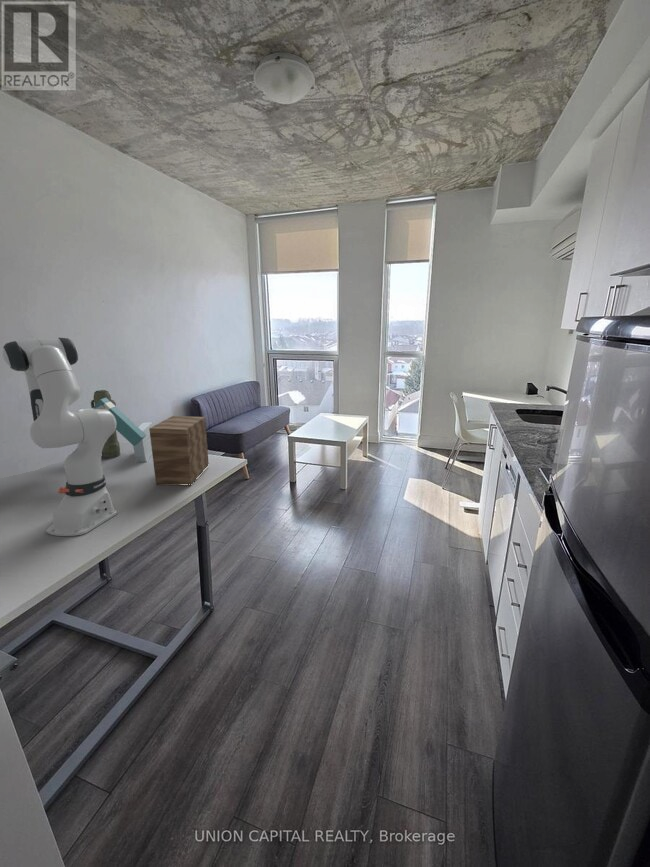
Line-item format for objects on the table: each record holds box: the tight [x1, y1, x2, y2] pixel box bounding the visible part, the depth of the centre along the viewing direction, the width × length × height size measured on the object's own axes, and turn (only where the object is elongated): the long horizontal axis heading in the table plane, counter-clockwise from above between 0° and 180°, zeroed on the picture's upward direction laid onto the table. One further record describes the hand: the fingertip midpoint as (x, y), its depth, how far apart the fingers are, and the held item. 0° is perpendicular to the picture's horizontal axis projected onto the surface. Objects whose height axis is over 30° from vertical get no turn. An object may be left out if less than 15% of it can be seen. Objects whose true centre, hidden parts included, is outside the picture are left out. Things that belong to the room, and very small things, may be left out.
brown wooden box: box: [149, 415, 210, 485], centre depth 168 cm, size 22×16×26 cm
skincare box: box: [132, 421, 154, 463], centre depth 193 cm, size 21×6×16 cm, turn 10°
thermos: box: [90, 389, 121, 459], centre depth 189 cm, size 9×12×35 cm
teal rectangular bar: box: [93, 398, 146, 446], centre depth 165 cm, size 4×24×6 cm
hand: (107, 405), depth 163 cm, fingers closed on teal rectangular bar, 4 cm apart
